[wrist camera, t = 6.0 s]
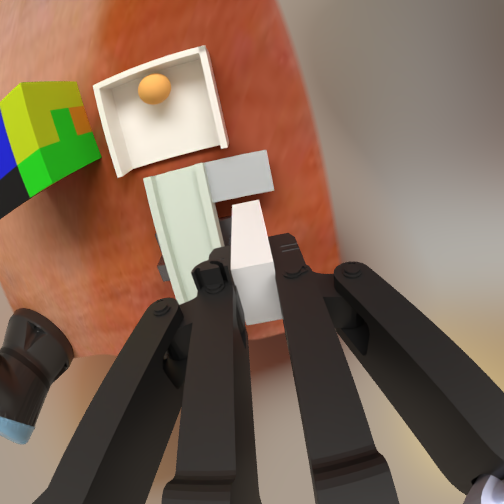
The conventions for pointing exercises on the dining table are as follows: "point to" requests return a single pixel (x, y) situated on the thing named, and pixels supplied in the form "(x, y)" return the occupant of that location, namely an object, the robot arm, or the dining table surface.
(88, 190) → the dining table surface
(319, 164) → the dining table surface
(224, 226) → the fulcrum
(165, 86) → the ball
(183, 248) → the lever
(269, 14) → the dining table surface
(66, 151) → the puzzle toy
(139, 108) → the tray
